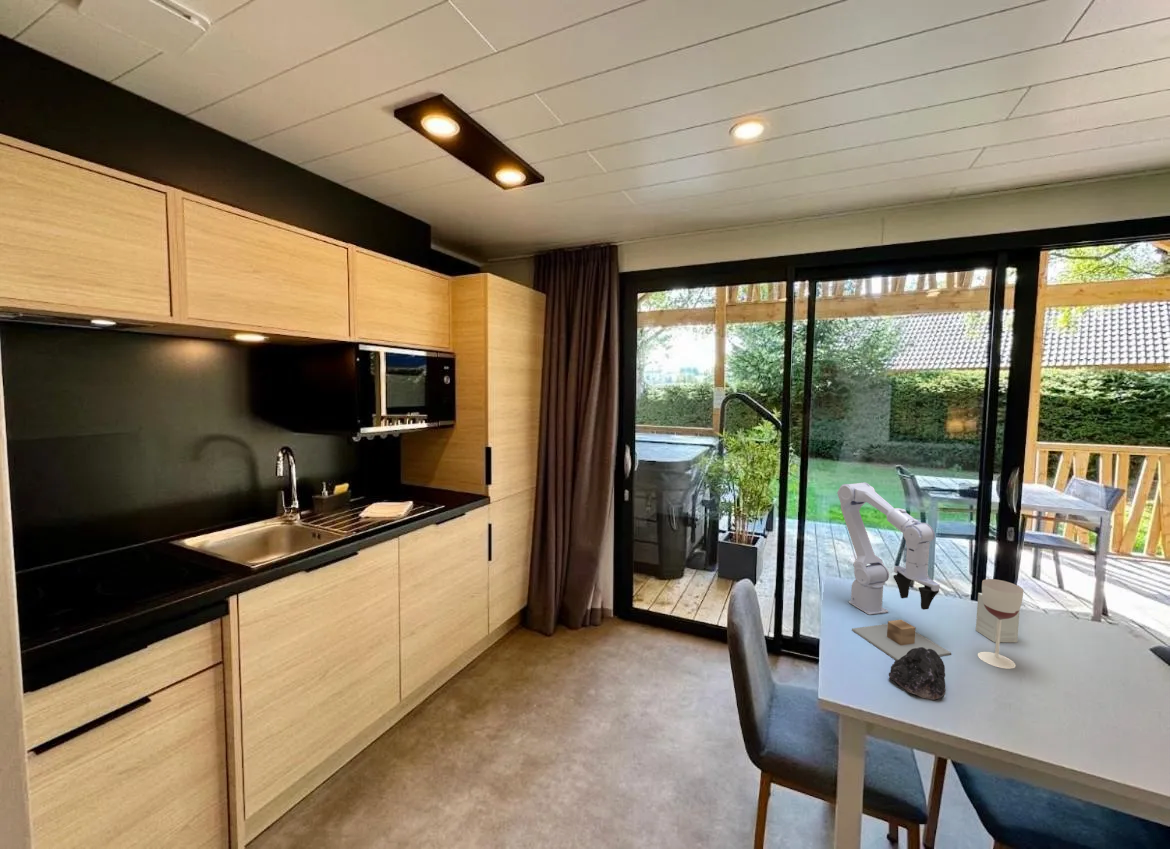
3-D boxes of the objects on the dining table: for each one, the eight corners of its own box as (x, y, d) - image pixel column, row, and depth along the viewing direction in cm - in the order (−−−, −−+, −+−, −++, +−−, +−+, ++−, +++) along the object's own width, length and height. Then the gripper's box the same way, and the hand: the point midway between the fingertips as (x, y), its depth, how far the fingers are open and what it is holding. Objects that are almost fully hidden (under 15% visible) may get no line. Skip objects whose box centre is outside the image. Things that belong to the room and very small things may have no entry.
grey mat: (851, 630, 154) (851, 628, 154) (898, 623, 158) (898, 622, 157) (899, 662, 136) (899, 660, 136) (951, 654, 140) (951, 652, 140)
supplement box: (1018, 642, 146) (1021, 603, 145) (993, 642, 146) (996, 603, 145) (998, 630, 153) (1001, 592, 152) (974, 630, 154) (977, 592, 152)
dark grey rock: (901, 701, 121) (909, 666, 119) (877, 665, 135) (883, 633, 133) (958, 709, 120) (967, 674, 118) (928, 672, 133) (935, 640, 131)
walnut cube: (886, 636, 149) (887, 621, 148) (900, 634, 150) (901, 619, 149) (900, 645, 144) (901, 629, 143) (914, 643, 145) (915, 627, 144)
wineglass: (981, 664, 135) (987, 589, 133) (972, 647, 144) (978, 576, 141) (1021, 673, 131) (1028, 596, 129) (1010, 655, 139) (1017, 582, 137)
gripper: (949, 569, 145) (946, 612, 146) (907, 552, 159) (905, 591, 160) (929, 571, 143) (926, 615, 145) (889, 554, 157) (887, 593, 159)
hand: (914, 603), depth 152 cm, fingers open, 7 cm apart
